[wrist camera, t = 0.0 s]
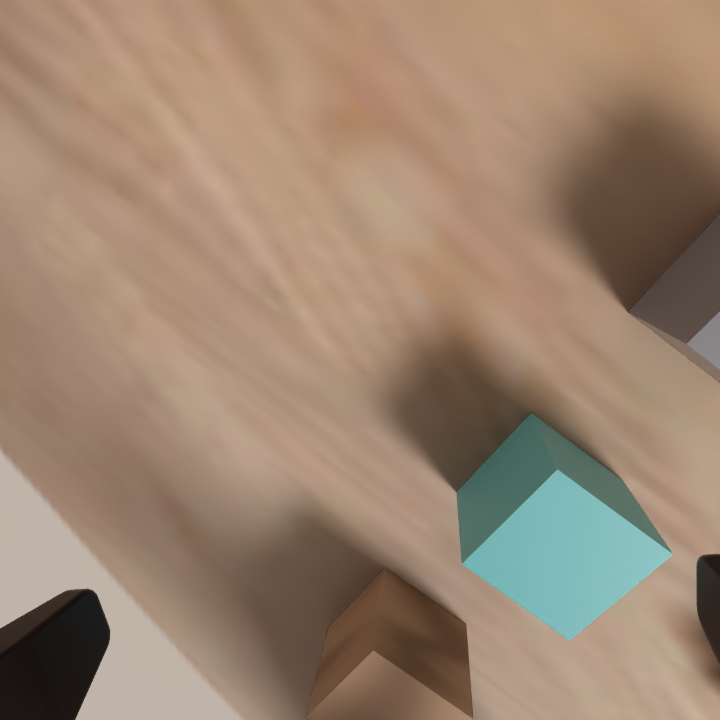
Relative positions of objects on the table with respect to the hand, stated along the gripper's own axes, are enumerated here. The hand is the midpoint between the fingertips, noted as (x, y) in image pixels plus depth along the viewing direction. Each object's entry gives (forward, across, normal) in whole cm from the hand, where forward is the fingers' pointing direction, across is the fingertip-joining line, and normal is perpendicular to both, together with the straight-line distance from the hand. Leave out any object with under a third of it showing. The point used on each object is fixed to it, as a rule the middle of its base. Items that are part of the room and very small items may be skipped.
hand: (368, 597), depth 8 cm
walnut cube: (+15, +3, +15) cm, 21 cm away
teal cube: (+15, -4, +7) cm, 17 cm away
